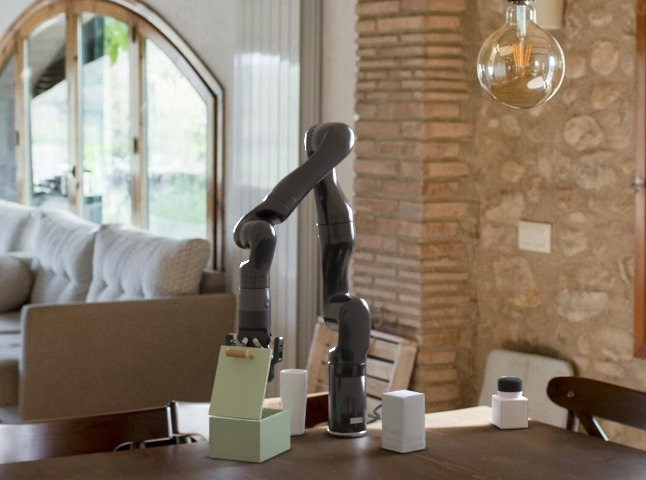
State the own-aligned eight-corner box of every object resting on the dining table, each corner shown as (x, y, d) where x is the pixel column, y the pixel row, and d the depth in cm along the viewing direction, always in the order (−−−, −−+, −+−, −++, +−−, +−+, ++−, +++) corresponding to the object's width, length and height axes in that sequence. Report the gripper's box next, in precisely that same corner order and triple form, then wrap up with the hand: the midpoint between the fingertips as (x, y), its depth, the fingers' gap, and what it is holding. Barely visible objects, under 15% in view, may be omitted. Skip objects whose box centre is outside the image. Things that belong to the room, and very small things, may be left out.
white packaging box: (426, 449, 293) (426, 393, 294) (401, 453, 289) (401, 397, 289) (405, 443, 299) (404, 388, 299) (380, 448, 294) (380, 392, 295)
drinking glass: (309, 431, 313) (309, 369, 313) (305, 437, 306) (305, 373, 306) (281, 430, 313) (282, 368, 314) (277, 436, 306) (277, 373, 307)
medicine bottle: (528, 428, 316) (528, 379, 316) (500, 429, 315) (500, 380, 315) (518, 422, 323) (518, 374, 323) (491, 423, 322) (491, 375, 322)
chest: (240, 443, 299) (241, 405, 299) (290, 448, 294) (290, 409, 294) (208, 457, 285) (208, 416, 285) (259, 462, 280) (260, 421, 280)
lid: (222, 346, 291) (212, 340, 287) (272, 349, 286) (263, 344, 282) (209, 415, 286) (199, 410, 282) (260, 420, 281) (250, 415, 276)
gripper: (290, 307, 293) (290, 380, 292) (234, 304, 298) (234, 376, 298) (275, 310, 286) (275, 385, 285) (218, 307, 292) (218, 381, 291)
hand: (254, 380), depth 292 cm, fingers open, 6 cm apart
